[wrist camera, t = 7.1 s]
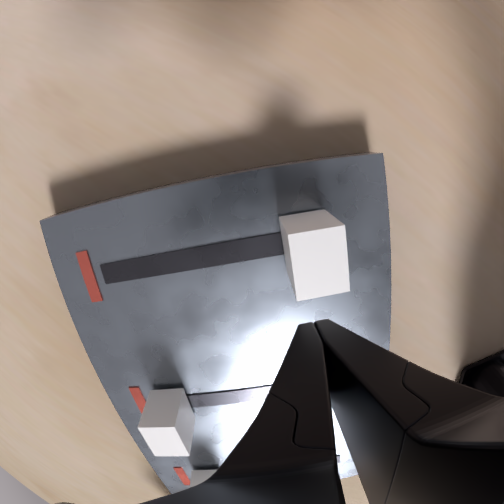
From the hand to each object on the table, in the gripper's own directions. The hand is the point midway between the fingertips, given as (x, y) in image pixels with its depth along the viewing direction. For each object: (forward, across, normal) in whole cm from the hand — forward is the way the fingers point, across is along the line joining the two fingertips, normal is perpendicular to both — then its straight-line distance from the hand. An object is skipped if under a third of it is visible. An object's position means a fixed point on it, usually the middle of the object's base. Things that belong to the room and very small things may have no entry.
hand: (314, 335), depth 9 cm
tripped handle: (+9, -1, 0) cm, 9 cm away
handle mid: (+9, +9, +10) cm, 16 cm away
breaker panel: (+11, +4, +10) cm, 15 cm away
